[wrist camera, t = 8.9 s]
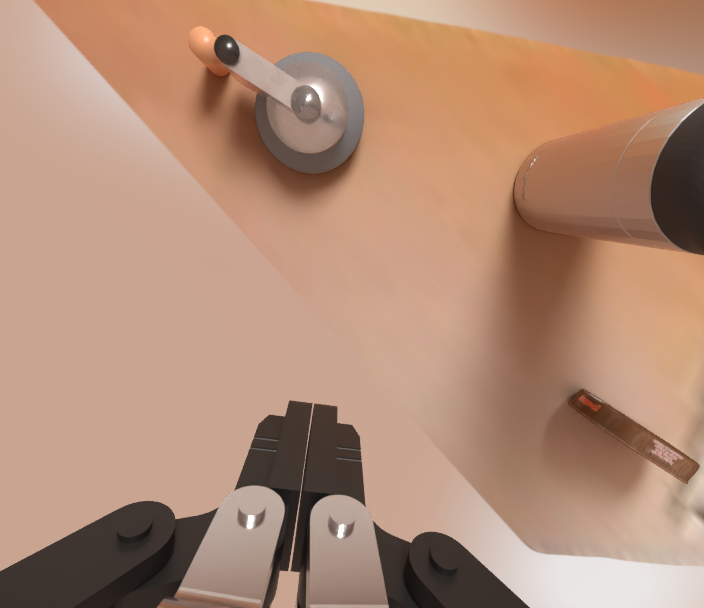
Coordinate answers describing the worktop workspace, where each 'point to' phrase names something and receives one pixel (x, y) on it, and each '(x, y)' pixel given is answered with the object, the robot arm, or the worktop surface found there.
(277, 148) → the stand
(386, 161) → the worktop surface
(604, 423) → the tin
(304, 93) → the dial
